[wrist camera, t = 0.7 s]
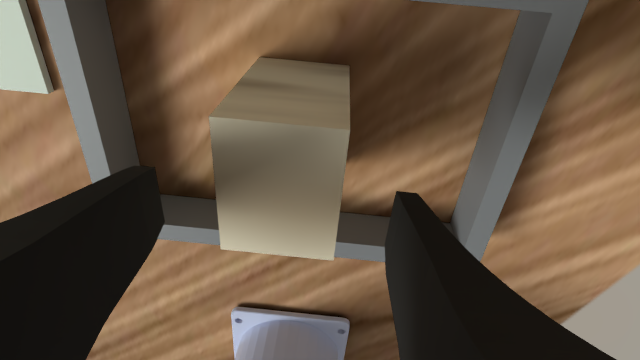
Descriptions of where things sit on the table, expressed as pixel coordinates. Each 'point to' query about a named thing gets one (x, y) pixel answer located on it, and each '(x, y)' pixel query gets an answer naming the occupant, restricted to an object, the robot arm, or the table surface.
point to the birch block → (282, 158)
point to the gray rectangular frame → (353, 229)
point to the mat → (21, 51)
